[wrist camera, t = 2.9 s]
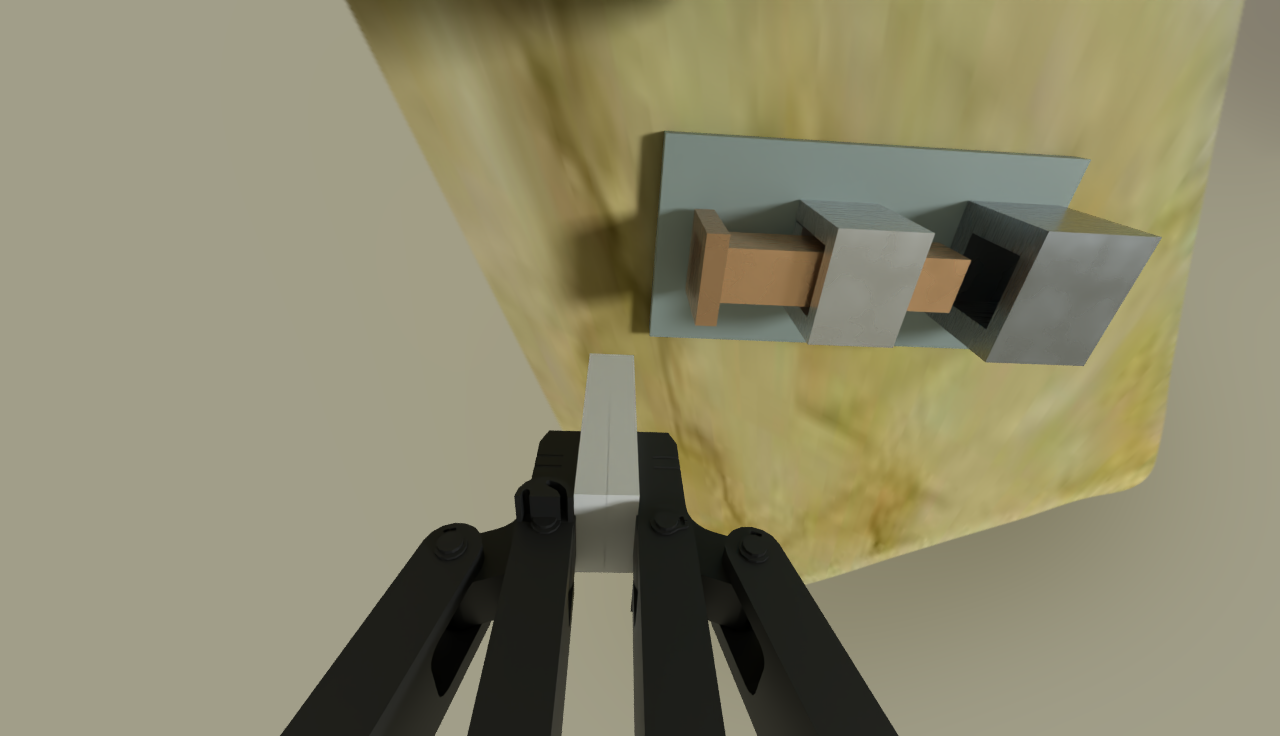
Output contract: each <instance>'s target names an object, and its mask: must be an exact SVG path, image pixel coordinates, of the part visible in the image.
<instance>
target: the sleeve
mask: <svg viewBox="0 0 1280 736" xmlns="http://www.w3.org/2000/svg"><path fill="white" fill-rule="evenodd" d="M796 220H797V221H795V223H794V228H793V232H792V235H803V236H815V237H816V238H817V239H819V240H820V241H821V242H822V243H823V244H824V245H825V246H826V247H825V251H824V254H823V258H822V262H821V266H820V270H819V274H818V278H817V282H816V285H815V289H814V293H813V297H812V301H811V305H810V307H801V306H783V308H784V309H785V311H786V312H787V314H788V315H789V317H790V318H791V320H792V321H793V323H794V324H795V326H796V327H797V329H798V330H799V332H800V333H801V335H802V336H803V338H804V339H805V341H806V342H807V344H812V345H838V346H863V347H889V348H893V346H894V344H895V341H896V338H897V336H898V333H899V330H900V327H901V325H902V322H903V319H904V317H905V314H906V311H907V308H908V306H909V303H910V300H911V298H912V295H913V292H914V290H915V287H916V284H917V281H918V279H919V276H920V273H921V271H922V268H923V265H924V262H925V260H926V257H927V254H928V252H929V249H930V246H931V243H932V241H933V238H934V235H935V233H934V232H932V231H930V230H928V229H926V228H924V227H922V226H920V225H918V224H916V223H915V222H913V221H911V220H909V219H907V218H905V217H903V216H901V215H899V214H898V213H896V212H894V211H892V210H890V209H888V208H886V207H884V206H882V205H881V204H874V203H856V202H838V201H820V200H802V199H800V200H799V205H798V210H797V214H796Z"/></svg>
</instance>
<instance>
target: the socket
mask: <svg viewBox="0 0 1280 736" xmlns="http://www.w3.org/2000/svg"><path fill="white" fill-rule="evenodd" d="M1161 238H1162V237H1159V236H1156V235H1153V234H1150V233H1146V232H1143V231H1140V230H1137V229H1134V228H1130V227H1127V226H1124V225H1121V224H1118V223H1115V222H1111V221H1108V220H1105V219H1102V218H1099V217H1095V216H1092V215H1089V214H1086V213H1083V212H1079V211H1076V210H1073V209H1070V208H1067V207H1063V206H1059V205H1042V204H1024V203H1007V202H989V201H971V200H968V202H967V205H966V207H965V210H964V212H963V215H962V217H961V220H960V223H959V225H958V228H957V230H956V233H955V235H954V238H953V240H952V243H951V246H950V249H952V250H954V251H956V252H958V253H959V254H961V255H963V256H965V257H967V258H969V259H970V260H971V262H970V265H969V267H968V269H967V272H966V274H965V277H964V279H963V281H962V284H961V286H960V288H959V291H958V293H957V296H956V298H955V300H954V303H953V305H952V308H951V310H950V312H949V313H939V312H924V313H925V314H927V315H928V316H929V317H930V318H932V319H933V320H934V321H935V322H937V323H938V324H939V325H940V326H941V327H943V328H944V329H945V330H946V331H948V332H949V333H950V334H951V335H953V336H954V337H955V338H956V339H958V340H959V341H960V342H961V343H962V344H964V345H965V346H966V347H967V348H969V349H970V350H971V351H972V352H974V353H975V354H976V355H977V356H978V357H980V358H981V359H982V360H983V361H985V362H994V363H1020V364H1047V365H1073V366H1084V365H1085V363H1086V361H1087V360H1088V358H1089V356H1090V355H1091V353H1092V351H1093V350H1094V348H1095V347H1096V345H1097V343H1098V342H1099V340H1100V338H1101V337H1102V335H1103V333H1104V332H1105V330H1106V328H1107V327H1108V325H1109V324H1110V322H1111V320H1112V319H1113V317H1114V315H1115V314H1116V312H1117V310H1118V309H1119V307H1120V305H1121V304H1122V302H1123V301H1124V299H1125V297H1126V296H1127V294H1128V292H1129V291H1130V289H1131V287H1132V286H1133V284H1134V283H1135V281H1136V279H1137V278H1138V276H1139V274H1140V273H1141V271H1142V269H1143V268H1144V266H1145V264H1146V263H1147V261H1148V260H1149V258H1150V256H1151V255H1152V253H1153V251H1154V250H1155V248H1156V246H1157V245H1158V243H1159V241H1160V240H1161Z"/></svg>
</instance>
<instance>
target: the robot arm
mask: <svg viewBox="0 0 1280 736" xmlns="http://www.w3.org/2000/svg"><path fill="white" fill-rule="evenodd" d="M514 497H515V507H516V520H514V521H513V522H512V523H510V524H508V525H506V526H504V527H501V528H499V529H495V530H491V531H487V532H484V533H479V532H478V530H477V529H476V528H475V527H473V526H470V525H468V524H464V523H453V524H449V525H445V526H442V527H440V528H438V529H436V530H434V531H433V532H432V533H430V534H429V535H428V536H427V537H426V538H425V539H424V540H423V542H422V543H421V545H420V546H419V547H418V549H417V550H416V551H415V553H414V554H413V555H412V557H411V558H410V559H409V561H408V562H407V564H406V565H405V566H404V568H403V569H402V570H401V572H400V573H399V574H398V576H397V577H396V579H395V580H394V581H393V583H392V584H391V585H390V587H389V588H388V589H387V591H386V592H385V594H384V595H383V596H382V598H381V599H380V600H379V602H378V603H377V604H376V606H375V607H374V609H373V610H372V612H371V613H370V614H369V616H368V617H367V618H366V620H365V621H364V622H363V624H362V625H361V626H360V628H359V629H358V630H357V632H356V633H355V635H354V636H353V637H352V639H351V640H350V641H349V643H348V644H347V645H346V647H345V648H344V649H343V651H342V652H341V654H340V655H339V656H338V658H337V659H336V660H335V662H334V663H333V665H332V666H331V667H330V669H329V670H328V671H327V673H326V674H325V675H324V677H323V678H322V680H321V681H320V682H319V684H318V685H317V686H316V688H315V689H314V690H313V692H312V693H311V695H310V696H309V697H308V699H307V700H306V701H305V703H304V704H303V705H302V707H301V708H300V710H299V711H298V712H297V714H296V715H295V716H294V718H293V719H292V720H291V722H290V723H289V725H288V726H287V727H286V729H285V730H284V731H283V733H282V734H281V735H280V736H435V733H436V732H437V730H438V728H439V726H440V724H441V722H442V720H443V718H444V716H445V714H446V712H447V710H448V707H449V706H450V704H451V702H452V700H453V698H454V695H455V694H456V692H457V690H458V688H459V685H460V683H461V681H462V680H463V678H464V675H465V673H466V671H467V669H468V667H469V665H470V663H471V661H472V659H473V657H474V655H475V653H476V651H477V649H478V647H479V645H480V643H481V641H482V639H483V637H484V635H485V633H486V631H487V629H488V627H489V625H490V622H491V621H492V620H494V622H493V627H492V631H491V635H490V640H489V644H488V649H487V653H486V657H485V661H484V666H483V670H482V674H481V679H480V683H479V688H478V692H477V696H476V700H475V704H474V709H473V714H472V717H471V722H470V726H469V731H468V735H467V736H561V733H562V723H563V711H564V700H565V689H566V677H567V667H568V655H569V644H570V632H571V622H572V610H573V599H574V573H575V572H614V573H633V579H634V580H633V591H632V602H631V611H632V612H633V657H634V658H633V659H634V660H633V663H634V664H633V665H634V722H635V736H725V729H724V722H723V716H722V709H721V703H720V696H719V690H718V683H717V677H716V670H715V664H714V657H713V651H712V644H711V637H710V631H709V624H708V620H709V621H711V623H712V627H713V629H714V631H715V633H716V636H717V639H718V641H719V643H720V646H721V648H722V651H723V653H724V656H725V658H726V661H727V663H728V665H729V668H730V670H731V672H732V675H733V677H734V680H735V682H736V685H737V687H738V689H739V692H740V694H741V697H742V699H743V702H744V704H745V706H746V709H747V711H748V714H749V716H750V719H751V721H752V724H753V726H754V729H755V731H756V733H757V736H898V734H897V733H896V731H895V729H894V728H893V726H892V725H891V723H890V721H889V720H888V718H887V717H886V715H885V714H884V712H883V710H882V709H881V707H880V705H879V704H878V702H877V700H876V699H875V697H874V696H873V694H872V692H871V691H870V690H869V688H868V686H867V685H866V683H865V681H864V680H863V678H862V676H861V675H860V673H859V671H858V670H857V668H856V667H855V665H854V663H853V662H852V660H851V659H850V657H849V655H848V654H847V652H846V651H845V649H844V647H843V646H842V644H841V643H840V641H839V639H838V638H837V636H836V634H835V633H834V631H833V630H832V628H831V626H830V625H829V623H828V622H827V620H826V618H825V617H824V615H823V613H822V612H821V611H820V609H819V607H818V605H817V604H816V602H815V601H814V599H813V597H812V596H811V594H810V593H809V591H808V589H807V588H806V586H805V585H804V583H803V581H802V580H801V578H800V576H799V575H798V573H797V572H796V570H795V568H794V567H793V565H792V564H791V562H790V560H789V559H788V557H787V556H786V554H785V552H784V551H783V549H782V547H781V546H780V544H779V543H778V542H777V541H776V540H775V539H774V537H773V536H771V535H770V534H768V533H766V532H765V531H763V530H760V529H757V528H753V527H740V528H738V529H735V530H733V531H732V532H731V533H730V534H729V535H728V536H725V535H722V534H718V533H715V532H712V531H709V530H707V529H704V528H703V527H701V526H699V525H698V524H697V523H696V522H694V521H693V520H692V519H691V517H690V516H689V514H688V512H687V509H686V505H685V498H684V491H683V484H682V478H681V471H680V464H679V459H678V450H677V444H676V443H675V441H674V440H673V439H672V437H671V436H670V435H669V433H657V432H637V421H636V397H635V373H634V355H613V354H590V358H589V366H588V375H587V384H586V393H585V401H584V410H583V419H582V428H581V431H549V432H548V433H547V434H546V435H545V436H544V437H543V439H542V440H541V441H540V443H539V448H538V452H537V457H536V461H535V467H534V470H533V475H532V479H531V480H529V481H527V482H525V483H524V484H523V485H522V486H520V487H519V488H518V490H517V492H516V494H515V496H514Z"/></svg>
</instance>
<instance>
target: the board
mask: <svg viewBox="0 0 1280 736" xmlns="http://www.w3.org/2000/svg"><path fill="white" fill-rule="evenodd" d="M1090 161H1091V160H1090V159H1085V158H1080V157H1073V156H1057V155H1042V154H1026V153H1010V152H994V151H978V150H962V149H946V148H930V147H914V146H898V145H882V144H866V143H850V142H834V141H819V140H803V139H787V138H771V137H755V136H739V135H723V134H707V133H691V132H675V131H664V142H663V155H662V168H661V181H660V194H659V207H658V220H657V233H656V246H655V259H654V272H653V285H652V298H651V311H650V323H649V333H650V336H655V337H680V338H706V339H731V340H756V341H782V342H806V341H805V339H804V338H803V336H802V335H801V333H800V332H799V330H798V329H797V327H796V326H795V324H794V323H793V321H792V320H791V318H790V317H789V315H788V314H787V312H786V311H785V309H784V308H783V306H778V305H755V304H732V303H720V306H719V312H718V319H717V325H716V326H695V323H694V320H693V316H692V312H691V309H690V305H689V302H688V298H687V295H686V291H685V288H686V279H687V270H688V261H689V252H690V244H691V235H692V226H693V217H694V209H713V210H715V211H716V213H717V214H718V216H719V217H720V219H721V221H722V222H723V224H724V225H725V227H726V228H727V230H728V231H729V232H745V233H764V234H783V235H792V232H793V228H794V223H795V221H797V220H796V214H797V210H798V205H799V200H800V199H802V200H820V201H838V202H856V203H874V204H881V205H882V206H884V207H886V208H888V209H890V210H892V211H894V212H896V213H898V214H899V215H901V216H903V217H905V218H907V219H909V220H911V221H913V222H915V223H916V224H918V225H920V226H922V227H924V228H926V229H928V230H930V231H932V232H934V233H935V235H934V238H933V241H932V242H938V243H941V244H943V245H945V246H947V247H949V248H950V246H951V243H952V240H953V238H954V235H955V233H956V230H957V228H958V225H959V223H960V220H961V217H962V215H963V212H964V210H965V207H966V205H967V202H968V200H971V201H989V202H1007V203H1024V204H1042V205H1059V206H1063V207H1068V205H1069V203H1070V201H1071V199H1072V197H1073V195H1074V193H1075V191H1076V189H1077V187H1078V185H1079V183H1080V181H1081V179H1082V177H1083V175H1084V173H1085V171H1086V169H1087V167H1088V165H1089V163H1090ZM894 346H908V347H934V348H959V349H969V348H967V347H966V346H965V345H964V344H962V343H961V342H960V341H959V340H958V339H956V338H955V337H954V336H953V335H951V334H950V333H949V332H948V331H946V330H945V329H944V328H943V327H941V326H940V325H939V324H938V323H937V322H935V321H934V320H933V319H932V318H930V317H929V316H928V315H927V314H925V313H924V312H916V311H906V314H905V317H904V319H903V322H902V325H901V327H900V330H899V333H898V336H897V338H896V341H895V344H894Z"/></svg>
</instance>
